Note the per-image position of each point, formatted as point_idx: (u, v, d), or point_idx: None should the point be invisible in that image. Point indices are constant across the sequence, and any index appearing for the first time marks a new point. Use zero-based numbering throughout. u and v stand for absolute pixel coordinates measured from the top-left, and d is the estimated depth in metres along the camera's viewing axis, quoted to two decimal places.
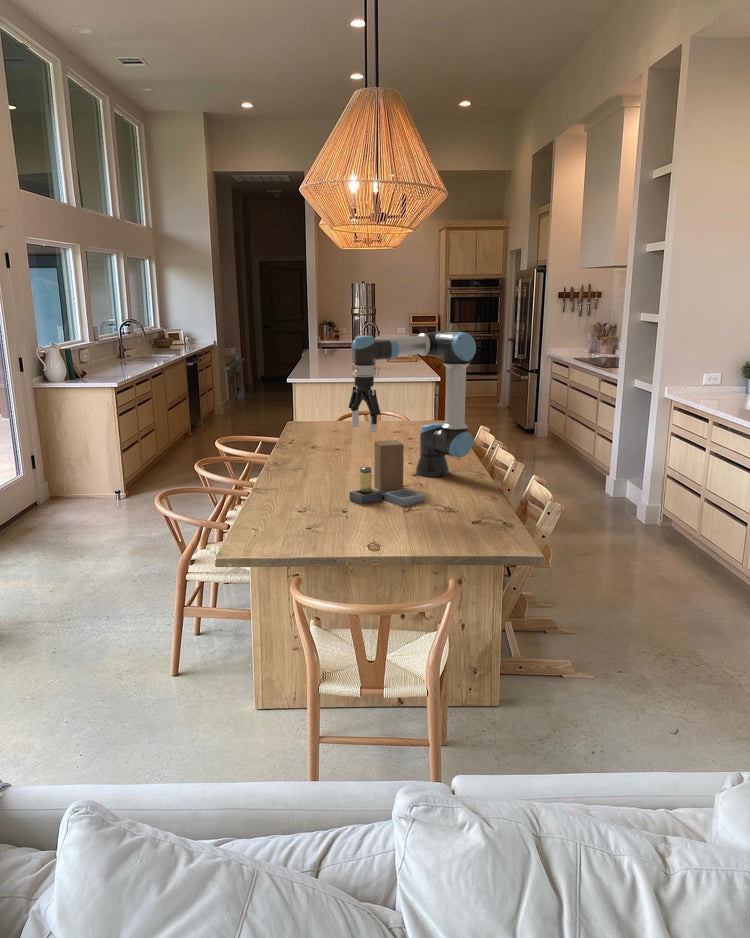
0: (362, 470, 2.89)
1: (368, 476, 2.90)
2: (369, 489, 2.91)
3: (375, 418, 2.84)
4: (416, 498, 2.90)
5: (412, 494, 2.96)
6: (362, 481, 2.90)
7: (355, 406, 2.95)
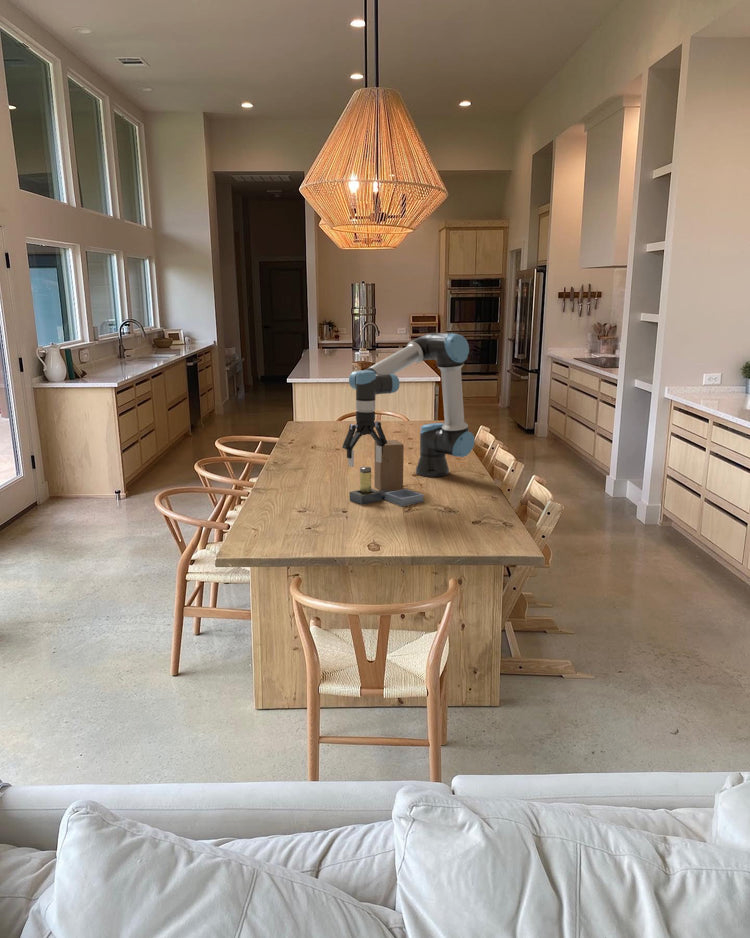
0: (362, 470, 2.89)
1: (368, 476, 2.90)
2: (369, 489, 2.91)
3: (348, 452, 2.84)
4: (416, 498, 2.90)
5: (412, 494, 2.96)
6: (362, 481, 2.90)
7: (376, 441, 2.92)
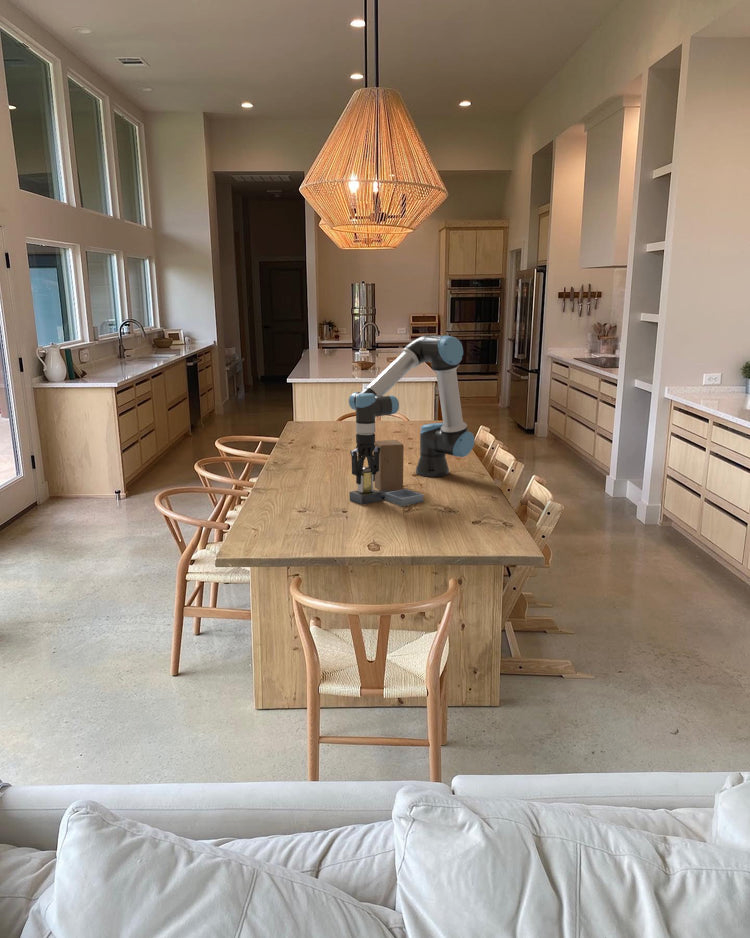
0: (362, 470, 2.89)
1: (368, 476, 2.90)
2: (369, 489, 2.91)
3: (357, 478, 2.89)
4: (416, 498, 2.90)
5: (412, 494, 2.96)
6: None
7: None
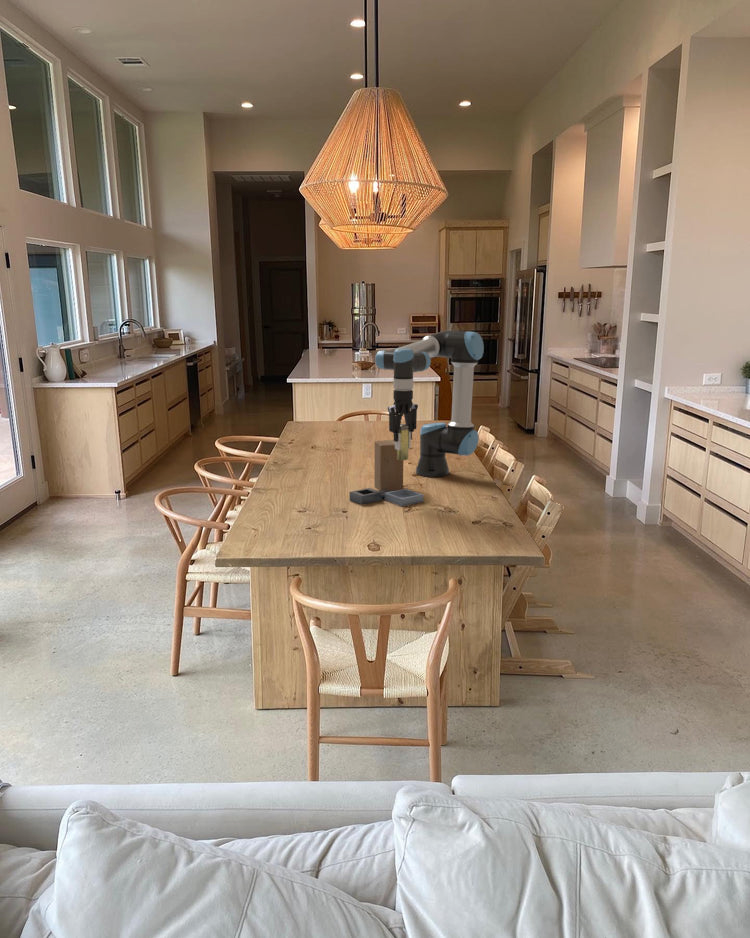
0: None
1: (405, 433, 2.85)
2: (406, 447, 2.87)
3: (394, 435, 2.85)
4: (416, 498, 2.90)
5: (412, 494, 2.96)
6: None
7: None
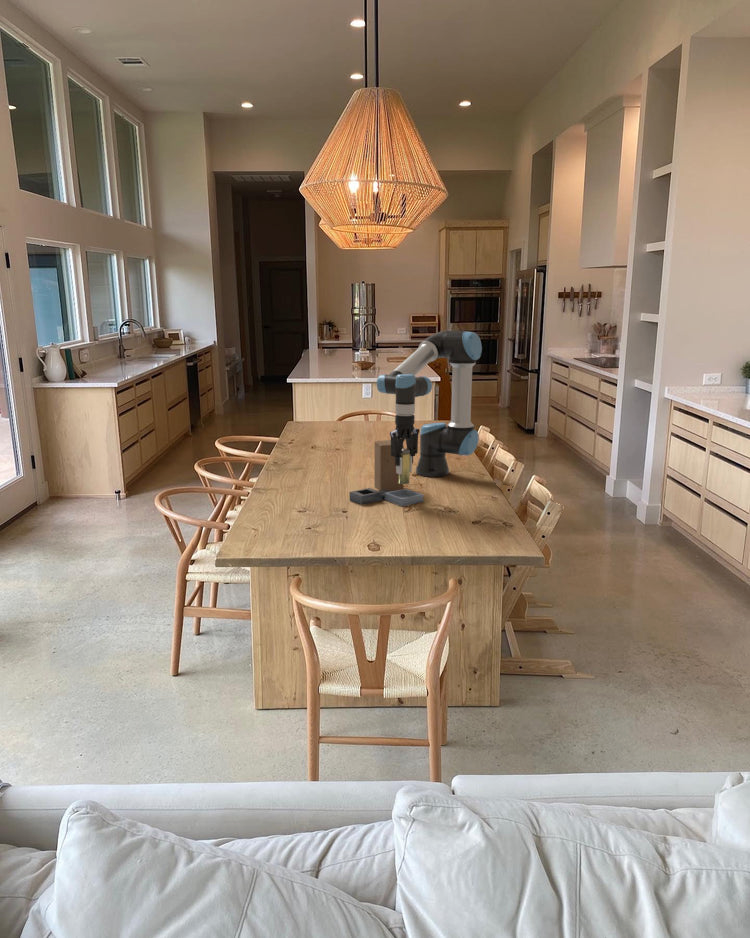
0: (401, 452, 2.87)
1: (407, 458, 2.88)
2: (408, 471, 2.89)
3: (396, 460, 2.87)
4: (416, 498, 2.90)
5: (412, 494, 2.96)
6: None
7: None
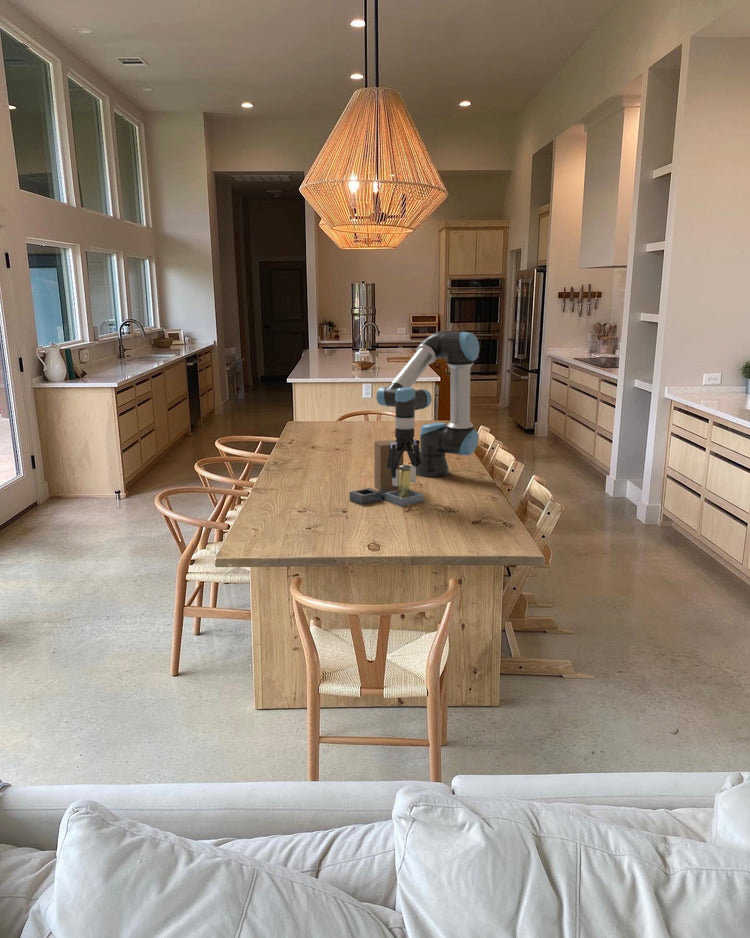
0: (401, 468, 2.89)
1: (407, 474, 2.89)
2: (408, 487, 2.91)
3: (392, 472, 2.87)
4: (416, 498, 2.90)
5: (412, 494, 2.96)
6: (401, 479, 2.90)
7: (411, 460, 2.93)
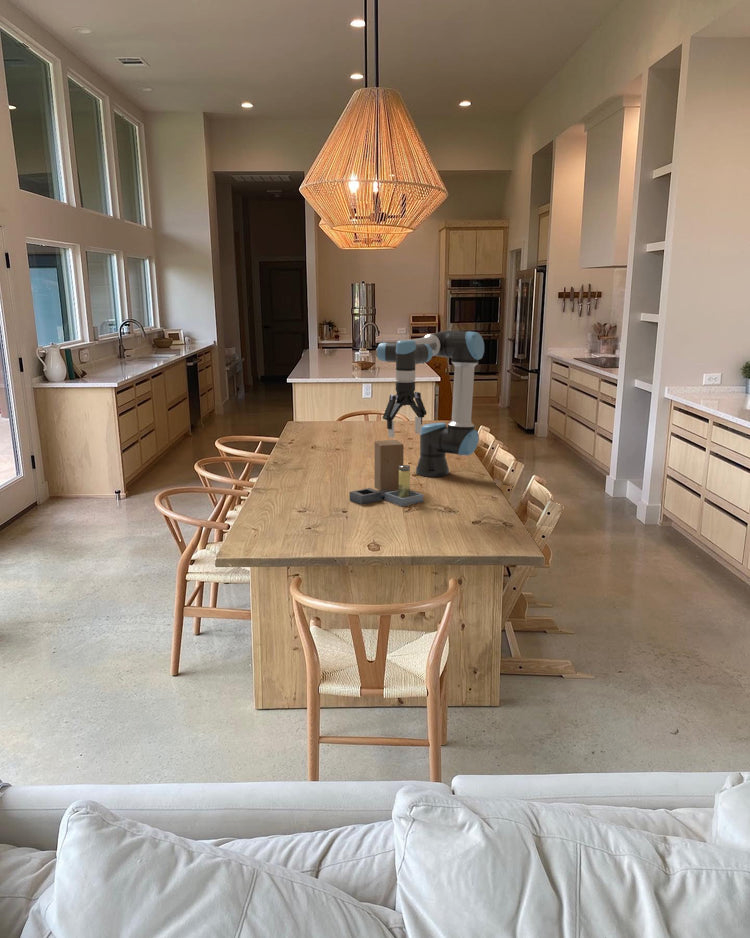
0: (401, 468, 2.89)
1: (407, 474, 2.89)
2: (408, 487, 2.91)
3: (388, 423, 2.81)
4: (416, 498, 2.90)
5: (412, 494, 2.96)
6: (401, 479, 2.90)
7: (415, 412, 2.89)
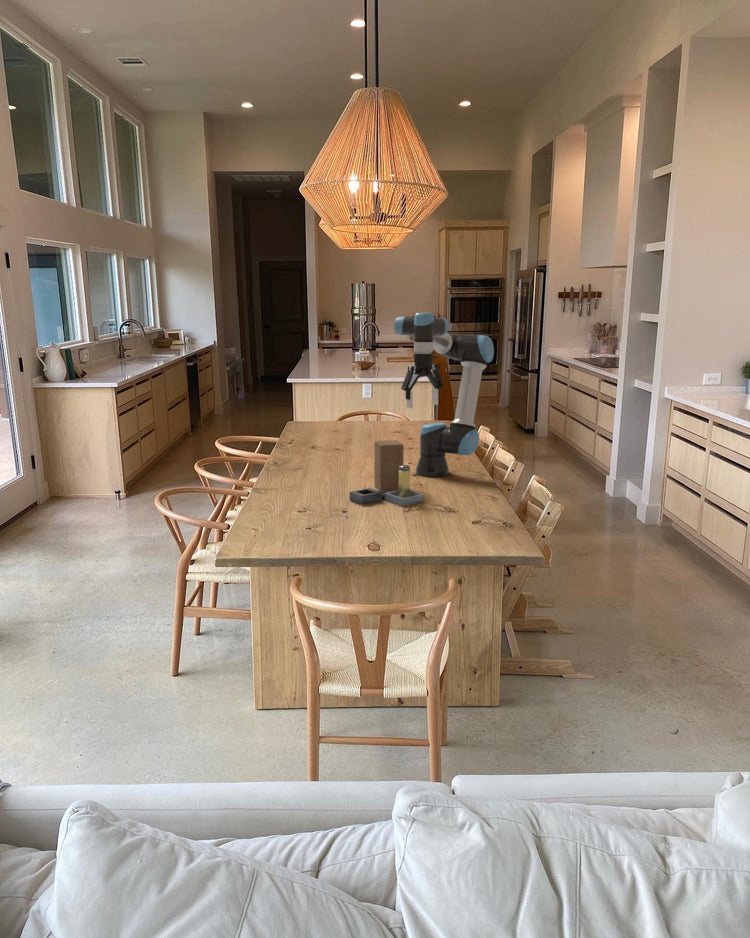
0: (401, 468, 2.89)
1: (407, 474, 2.89)
2: (408, 487, 2.91)
3: (406, 393, 2.88)
4: (416, 498, 2.90)
5: (412, 494, 2.96)
6: (401, 479, 2.90)
7: (432, 383, 2.97)
